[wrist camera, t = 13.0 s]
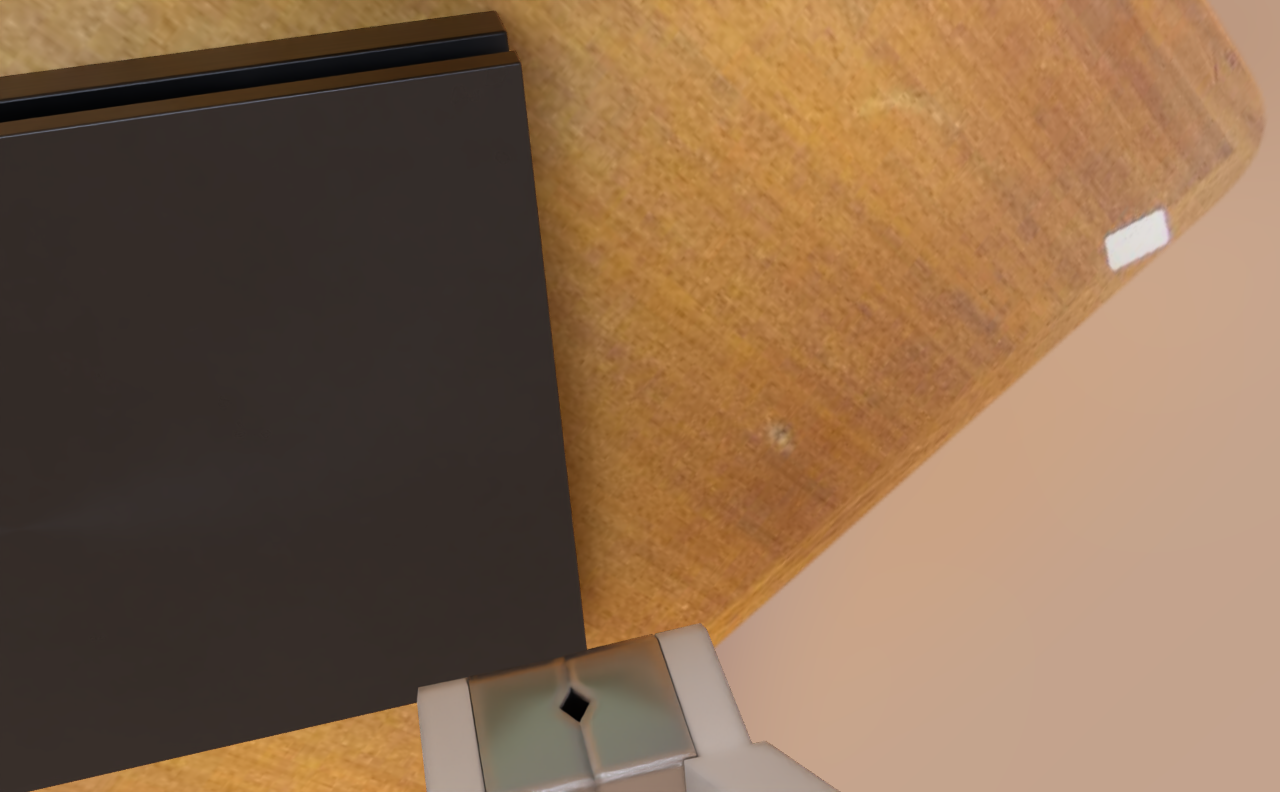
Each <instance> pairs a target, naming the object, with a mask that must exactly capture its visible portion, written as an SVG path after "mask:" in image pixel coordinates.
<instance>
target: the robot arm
mask: <svg viewBox="0 0 1280 792" xmlns="http://www.w3.org/2000/svg"><path fill="white" fill-rule="evenodd" d="M468 679H469V681H468ZM417 706H418V716H419V725H420V734H421V743H422V753H423V762H424V771H425V780H426V789H427V792H840V791H838V790H837V789H835V788H834V787H832V786H831V785H829V784H828V783H826V782H825V781H824V780H822V779H821V778H819V777H818V776H816V775H815V774H814V773H812V772H811V771H809V770H808V769H806V768H805V767H803V766H802V765H800V764H799V763H798V762H796V761H794V760H793V759H792V758H790V757H789V756H787V755H786V754H784V753H783V752H782V751H780V750H779V749H777V748H776V747H774V746H773V745H771V744H770V743H768V742H767V741H763V742H758V743H753V744H752V742H751V740H750V737H749V734H748V732H747V730H746V727H745V724H744V722H743V719H742V717H741V714H740V712H739V709H738V707H737V704H736V702H735V699H734V697H733V694H732V692H731V689H730V687H729V684H728V682H727V679H726V677H725V674H724V672H723V669H722V667H721V664H720V662H719V659H718V657H717V654H716V652H715V649H714V646H713V644H712V641H711V639H710V636H709V634H708V631H707V629H706V628H705V627H704V626H703V625H702V624H701V623H698V624H694V625H690V626H686V627H681V628H677V629H673V630H669V631H664V632H660V633H656V634H655V636H654V635H653V634H650V635H646V636H642V637H637V638H633V639H629V640H625V641H621V642H617V643H613V644H609V645H605V646H600V647H596V648H592V649H588V650H584V651H580V652H576V653H572V654H567V655H563V656H562V657H560V658H555V659H550V660H546V661H541V662H536V663H531V664H526V665H521V666H516V667H511V668H507V669H502V670H497V671H492V672H487V673H482V674H477V675H472V676H468V678H467V677H466V678H461V679H456V680H452V681H447V682H442V683H437V684H433V685H428V686H423V687H418V696H417Z"/></svg>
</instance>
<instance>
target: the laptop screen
mask: <svg viewBox="0 0 1280 792" xmlns="http://www.w3.org/2000/svg"><path fill="white" fill-rule="evenodd" d="M584 650H587V646H586V637H585V628H584V619H583V610H582V601H581V592H580V583H579V574H578V565H577V556H576V547H575V539H574V530H573V521H572V512H571V503H570V494H569V485H568V476H567V467H566V458H565V449H564V440H563V431H562V422H561V413H560V404H559V396H558V387H557V378H556V369H555V360H554V351H553V342H552V333H551V324H550V315H549V306H548V297H547V288H546V279H545V270H544V261H543V253H542V244H541V235H540V226H539V217H538V208H537V199H536V190H535V181H534V172H533V163H532V154H531V145H530V136H529V127H528V118H527V110H526V101H525V92H524V83H523V74H522V65H521V62H520V60H519V57H518V55H517V53H516V51H509V52H502V53H495V54H488V55H481V56H473V57H466V58H459V59H452V60H445V61H438V62H431V63H424V64H416V65H409V66H402V67H395V68H388V69H381V70H374V71H366V72H359V73H352V74H345V75H338V76H331V77H324V78H316V79H309V80H302V81H295V82H288V83H281V84H274V85H267V86H259V87H252V88H245V89H238V90H231V91H224V92H217V93H209V94H202V95H195V96H188V97H181V98H174V99H167V100H159V101H152V102H145V103H138V104H131V105H124V106H117V107H110V108H102V109H95V110H88V111H81V112H74V113H67V114H60V115H52V116H45V117H38V118H31V119H24V120H17V121H10V122H2V123H0V792H30V791H34V790H38V789H43V788H47V787H51V786H56V785H60V784H64V783H69V782H73V781H77V780H82V779H86V778H91V777H95V776H99V775H104V774H108V773H112V772H117V771H121V770H125V769H130V768H134V767H138V766H143V765H147V764H151V763H156V762H160V761H165V760H169V759H173V758H178V757H182V756H186V755H191V754H195V753H199V752H204V751H208V750H212V749H217V748H221V747H226V746H230V745H234V744H239V743H243V742H247V741H252V740H256V739H260V738H265V737H269V736H273V735H278V734H282V733H286V732H291V731H295V730H300V729H304V728H308V727H313V726H317V725H321V724H326V723H330V722H334V721H339V720H343V719H347V718H352V717H356V716H361V715H365V714H369V713H374V712H378V711H382V710H387V709H391V708H395V707H400V706H404V705H408V704H413V703H417V696H418V687H423V686H428V685H433V684H437V683H442V682H447V681H452V680H456V679H461V678H466V677H467V678H468V676H472V675H477V674H482V673H487V672H492V671H497V670H502V669H507V668H511V667H516V666H521V665H526V664H531V663H536V662H541V661H546V660H550V659H555V658H560V657H562V656H563V655H567V654H572V653H576V652H580V651H584ZM468 681H469V679H468Z"/></svg>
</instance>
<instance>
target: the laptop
mask: <svg viewBox="0 0 1280 792" xmlns="http://www.w3.org/2000/svg"><path fill="white" fill-rule="evenodd" d="M502 52H509V45H508V37H507V32H506V30H505V28H504V26H503V24H502V22H501V20H500V18H499V16H498V14H497V12H496V11H490V12H482V13H475V14H467V15H460V16H452V17H445V18H437V19H430V20H422V21H415V22H407V23H400V24H393V25H385V26H378V27H370V28H363V29H355V30H348V31H340V32H333V33H325V34H318V35H310V36H303V37H296V38H288V39H281V40H273V41H266V42H258V43H251V44H243V45H236V46H228V47H221V48H214V49H206V50H199V51H191V52H184V53H176V54H169V55H161V56H154V57H146V58H139V59H131V60H124V61H117V62H109V63H102V64H94V65H87V66H79V67H72V68H64V69H57V70H49V71H42V72H34V73H27V74H20V75H12V76H5V77H0V123H2V122H10V121H17V120H24V119H31V118H38V117H45V116H52V115H60V114H67V113H74V112H81V111H88V110H95V109H102V108H110V107H117V106H124V105H131V104H138V103H145V102H152V101H159V100H167V99H174V98H181V97H188V96H195V95H202V94H209V93H217V92H224V91H231V90H238V89H245V88H252V87H259V86H267V85H274V84H281V83H288V82H295V81H302V80H309V79H316V78H324V77H331V76H338V75H345V74H352V73H359V72H366V71H374V70H381V69H388V68H395V67H402V66H409V65H416V64H424V63H431V62H438V61H445V60H452V59H459V58H466V57H473V56H481V55H488V54H495V53H502Z"/></svg>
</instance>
